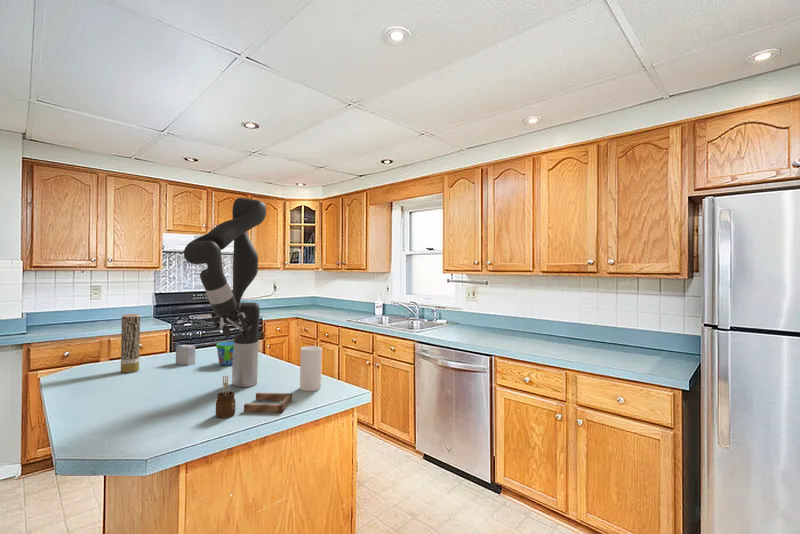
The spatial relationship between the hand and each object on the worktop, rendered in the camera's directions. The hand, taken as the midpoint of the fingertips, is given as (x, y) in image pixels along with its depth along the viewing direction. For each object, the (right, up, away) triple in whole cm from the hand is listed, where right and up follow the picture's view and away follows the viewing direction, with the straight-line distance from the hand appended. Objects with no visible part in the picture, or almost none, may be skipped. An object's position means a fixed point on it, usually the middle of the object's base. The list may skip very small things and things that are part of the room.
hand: (238, 337), depth 141 cm
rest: (+11, -24, 0) cm, 26 cm away
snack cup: (-27, -23, +55) cm, 65 cm away
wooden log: (-63, -22, +39) cm, 77 cm away
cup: (+20, -24, +21) cm, 38 cm away
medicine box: (-47, -22, +54) cm, 75 cm away
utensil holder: (0, -24, -9) cm, 26 cm away
